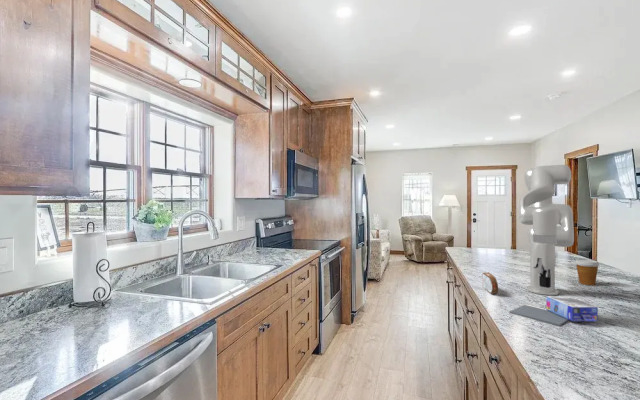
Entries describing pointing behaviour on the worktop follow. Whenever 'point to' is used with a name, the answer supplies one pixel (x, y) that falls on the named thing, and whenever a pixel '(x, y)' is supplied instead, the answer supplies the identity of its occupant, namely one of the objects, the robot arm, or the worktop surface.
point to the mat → (539, 314)
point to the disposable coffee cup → (587, 271)
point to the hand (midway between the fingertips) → (545, 286)
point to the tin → (490, 283)
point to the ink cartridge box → (572, 308)
